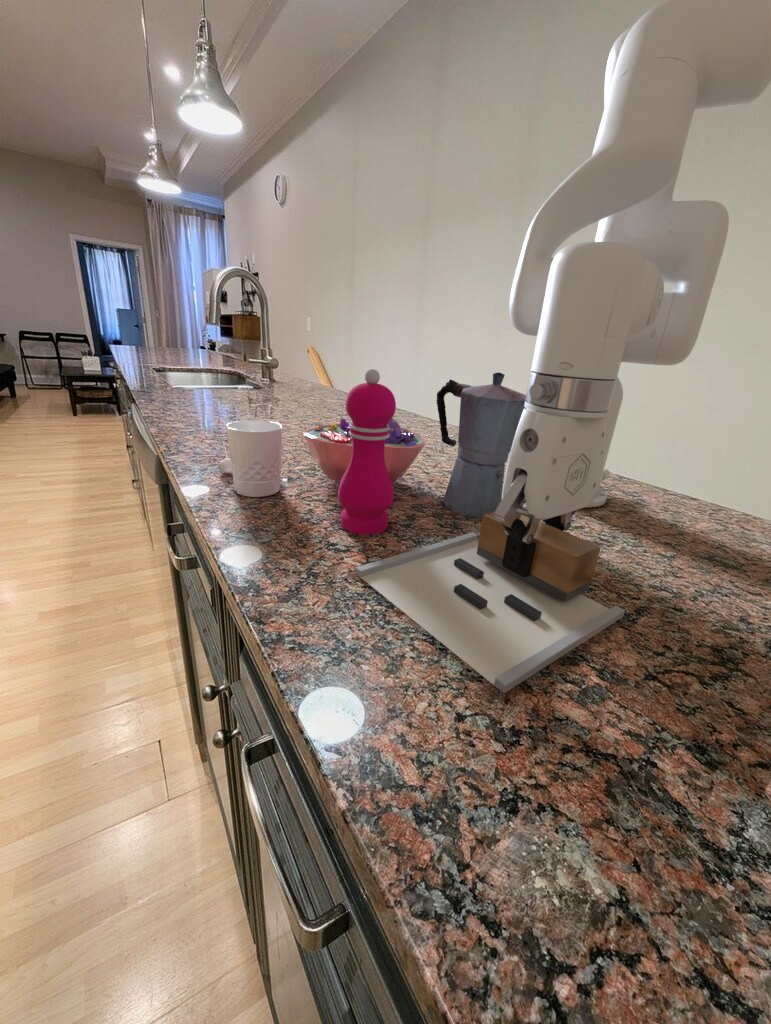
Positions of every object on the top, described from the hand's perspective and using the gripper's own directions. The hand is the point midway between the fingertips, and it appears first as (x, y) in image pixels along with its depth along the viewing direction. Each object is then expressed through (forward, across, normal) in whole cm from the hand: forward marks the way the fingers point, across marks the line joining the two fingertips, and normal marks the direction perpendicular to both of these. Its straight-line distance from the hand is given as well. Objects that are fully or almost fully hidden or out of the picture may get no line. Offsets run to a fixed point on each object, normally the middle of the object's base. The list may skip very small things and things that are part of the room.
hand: (530, 563), depth 49 cm
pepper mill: (+2, -8, +20) cm, 22 cm away
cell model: (+2, +2, +35) cm, 35 cm away
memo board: (+2, -7, 0) cm, 8 cm away
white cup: (+2, -15, +39) cm, 42 cm away
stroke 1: (+1, -5, +4) cm, 7 cm away
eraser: (+1, 0, 0) cm, 1 cm away
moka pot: (+2, +10, +18) cm, 21 cm away
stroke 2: (+2, -9, 0) cm, 9 cm away
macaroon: (+2, -16, +48) cm, 51 cm away
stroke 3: (+1, -6, -4) cm, 8 cm away
